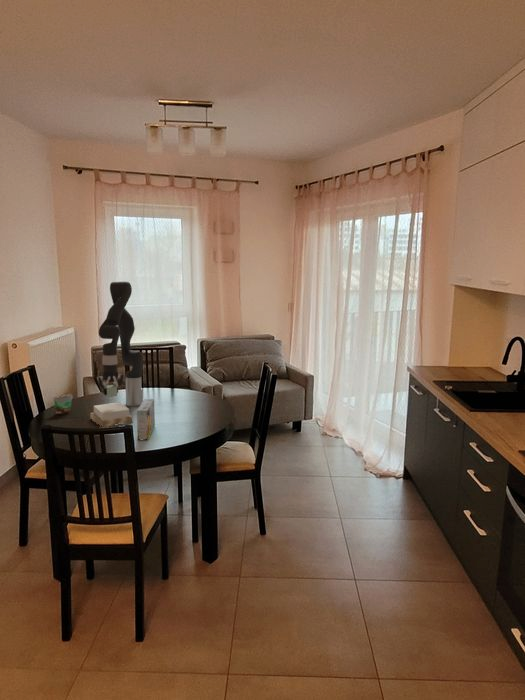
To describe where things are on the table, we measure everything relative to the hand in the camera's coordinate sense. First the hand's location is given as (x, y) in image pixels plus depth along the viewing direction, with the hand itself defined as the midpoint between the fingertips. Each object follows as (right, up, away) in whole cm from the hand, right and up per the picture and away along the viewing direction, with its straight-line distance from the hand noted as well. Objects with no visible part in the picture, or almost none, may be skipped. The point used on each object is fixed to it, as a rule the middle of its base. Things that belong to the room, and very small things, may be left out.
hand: (110, 394), depth 240 cm
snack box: (+23, -18, -15) cm, 33 cm away
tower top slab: (0, -11, +2) cm, 11 cm away
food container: (-30, -12, +14) cm, 35 cm away
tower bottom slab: (0, -15, +2) cm, 15 cm away
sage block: (0, -1, 0) cm, 1 cm away
